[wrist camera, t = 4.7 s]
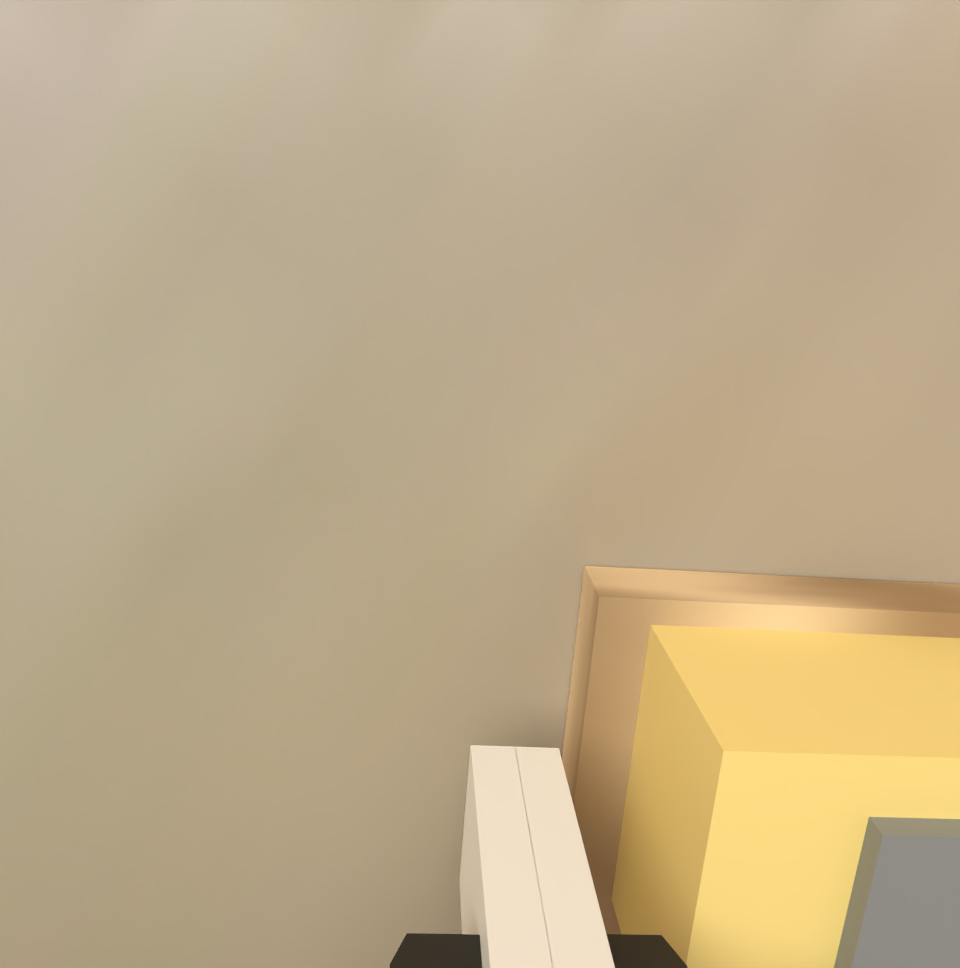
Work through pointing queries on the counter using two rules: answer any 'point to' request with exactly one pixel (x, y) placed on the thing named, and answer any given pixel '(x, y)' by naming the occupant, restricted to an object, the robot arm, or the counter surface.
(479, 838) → the robot arm
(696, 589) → the plywood board
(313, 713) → the counter surface
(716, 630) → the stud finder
